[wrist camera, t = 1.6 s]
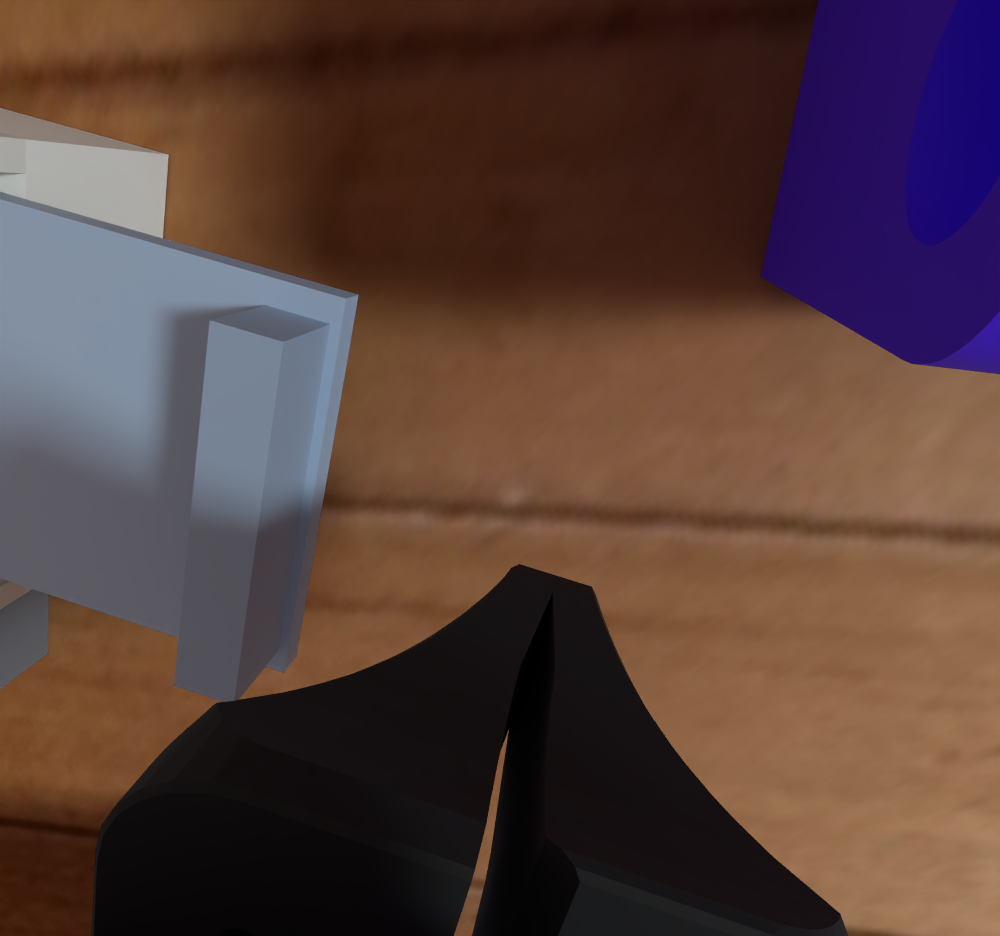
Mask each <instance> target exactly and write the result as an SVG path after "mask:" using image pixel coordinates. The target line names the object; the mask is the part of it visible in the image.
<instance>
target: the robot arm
mask: <svg viewBox="0 0 1000 936" xmlns="http://www.w3.org/2000/svg"><path fill="white" fill-rule="evenodd" d="M508 730H509V733H508V740H507V746H506V753H505V760H504V766H503V773H502V780H501V787H500V794H499V800H498V807H497V814H496V821H495V828H494V835H493V841H492V848H491V854H490V860H489V865H488V870H487V875H486V881H485V885H484V889H483V893H482V897H481V901H480V905H479V909H478V913H477V917H476V922H475V926H474V930H473V934H472V936H848V934H847V931H846V928H845V926H844V923H843V920H842V917H841V915H840V913H839V912H838V911H836V910H835V909H834V908H833V907H832V906H830V905H829V904H828V903H827V902H826V901H825V900H823V899H822V898H821V897H820V896H819V895H817V894H816V893H815V892H814V891H813V890H812V889H810V888H809V887H808V886H807V885H806V884H804V883H803V882H802V881H801V880H800V879H799V878H797V877H796V876H795V875H794V874H793V873H791V872H790V871H789V870H788V869H787V868H786V867H784V866H783V865H782V864H781V863H780V862H778V861H777V860H776V859H775V858H774V857H773V856H772V855H771V854H770V853H768V852H767V851H766V850H765V849H764V848H763V847H762V846H761V845H760V844H759V843H758V842H757V841H756V840H755V839H754V838H753V837H752V836H751V835H750V834H749V833H748V832H747V831H746V830H745V829H744V828H743V827H742V826H741V825H740V824H739V823H738V822H737V821H736V820H735V819H734V818H733V817H732V816H731V815H730V814H729V813H728V812H727V811H726V810H725V809H724V808H723V807H722V805H721V804H720V803H719V802H718V801H717V800H716V799H715V798H714V797H713V796H712V795H711V793H710V792H709V791H708V790H707V789H706V788H705V786H704V785H703V784H702V783H701V782H700V780H699V779H698V778H697V777H696V776H695V775H694V773H693V772H692V771H691V770H690V769H689V767H688V766H687V765H686V764H685V762H684V761H683V760H682V759H681V757H680V756H679V755H678V753H677V752H676V751H675V750H674V748H673V747H672V745H671V744H670V743H669V741H668V740H667V738H666V737H665V735H664V734H663V732H662V731H661V730H660V728H659V727H658V725H657V724H656V722H655V721H654V720H653V718H652V717H651V715H650V713H649V712H648V710H647V709H646V707H645V705H644V704H643V702H642V700H641V698H640V696H639V695H638V693H637V691H636V689H635V687H634V686H633V684H632V682H631V680H630V678H629V676H628V674H627V672H626V670H625V668H624V665H623V663H622V661H621V659H620V657H619V655H618V652H617V650H616V648H615V646H614V643H613V641H612V639H611V636H610V634H609V631H608V629H607V626H606V623H605V621H604V618H603V615H602V613H601V610H600V607H599V604H598V601H597V597H596V594H595V592H594V591H593V589H592V587H591V586H588V585H585V584H581V583H578V582H575V581H572V580H569V579H565V578H562V577H559V576H556V575H553V574H549V573H546V572H543V571H540V570H537V569H533V568H530V567H527V566H524V565H521V564H519V565H517V566H514V567H512V568H511V569H510V570H509V572H508V573H507V574H506V576H505V577H504V578H503V579H502V580H501V581H500V582H499V583H498V584H497V585H496V586H495V587H494V588H493V589H492V590H491V591H490V592H489V593H488V594H487V595H486V596H484V597H483V598H482V599H481V600H480V601H478V602H477V603H476V604H475V605H473V606H472V607H471V608H470V609H469V610H467V611H466V612H465V613H464V614H462V615H461V616H460V617H458V618H457V619H455V620H454V621H452V622H451V623H449V624H448V625H447V626H445V627H444V628H442V629H441V630H439V631H438V632H436V633H435V634H433V635H432V636H430V637H428V638H427V639H425V640H423V641H422V642H420V643H418V644H416V645H415V646H413V647H411V648H409V649H407V650H405V651H403V652H401V653H400V654H398V655H396V656H394V657H392V658H389V659H387V660H385V661H382V662H380V663H378V664H376V665H373V666H371V667H368V668H366V669H363V670H361V671H358V672H356V673H353V674H350V675H347V676H344V677H341V678H338V679H334V680H331V681H328V682H324V683H321V684H317V685H313V686H309V687H305V688H301V689H297V690H292V691H288V692H283V693H278V694H272V695H266V696H259V697H253V698H247V699H241V700H235V701H228V702H220V703H216V704H214V705H213V706H212V707H211V708H210V709H209V710H208V711H206V712H205V713H204V714H203V715H202V716H201V717H200V718H199V719H198V720H196V721H195V722H194V723H193V724H192V725H191V726H190V727H188V728H187V729H186V730H185V731H184V732H183V733H182V734H181V735H179V736H178V737H177V738H176V739H175V740H174V741H173V742H172V743H171V744H170V745H169V746H168V747H167V748H166V749H165V750H164V751H163V752H162V753H161V754H160V755H159V756H158V757H157V758H156V759H155V760H154V762H153V763H152V764H151V765H150V766H149V767H148V768H147V770H146V771H145V772H144V773H143V774H142V775H141V776H140V778H139V779H138V780H137V781H136V782H135V783H134V785H133V786H132V787H131V788H130V789H129V790H128V792H127V793H126V794H125V795H124V796H123V797H122V799H121V800H120V801H119V802H118V803H117V804H116V806H115V807H114V809H113V810H112V811H111V813H110V814H109V816H108V817H107V818H106V820H105V821H104V823H103V824H102V826H101V830H100V834H99V839H98V843H97V847H96V853H95V874H94V894H93V915H92V936H454V933H455V930H456V927H457V924H458V921H459V918H460V915H461V912H462V909H463V906H464V903H465V899H466V896H467V893H468V890H469V887H470V884H471V881H472V878H473V874H474V871H475V867H476V863H477V859H478V855H479V851H480V847H481V843H482V839H483V835H484V831H485V827H486V823H487V817H488V811H489V805H490V800H491V795H492V790H493V785H494V780H495V774H496V769H497V764H498V760H499V755H500V751H501V748H502V746H503V743H504V740H505V738H506V735H507V732H508Z"/></svg>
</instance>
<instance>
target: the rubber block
mask: <svg viewBox="0 0 1000 936" xmlns="http://www.w3.org/2000/svg"><path fill="white" fill-rule="evenodd" d="M48 606H49V594H46V593H43V592H40V591H37V590H34V589H32V590H30V591H29V592H27V593H26V594H24V595H22V596H21V597H19V598H18V599H16V600H14V601H13V602H11V603H10V604H8V605H7V606H5V607H3V608H2V609H0V689H1V688H2V687H4V686H5V685H6V684H8V683H9V682H10V681H12V680H13V679H14V678H16V677H17V676H18V675H19V674H21V673H22V672H23V671H25V670H26V669H27V668H29V667H30V666H31V665H33V664H34V663H35V662H37V661H38V660H39V659H41V658H42V657H43V656H45V655H46V654H47V653H48Z"/></svg>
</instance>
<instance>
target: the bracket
mask: <svg viewBox="0 0 1000 936" xmlns="http://www.w3.org/2000/svg"><path fill="white" fill-rule="evenodd" d="M761 277H762V278H764V279H765V280H767V281H769V282H770V283H772V284H774V285H776V286H777V287H779V288H781V289H782V290H784V291H786V292H788V293H789V294H791V295H793V296H794V297H796V298H798V299H800V300H801V301H803V302H805V303H806V304H808V305H810V306H812V307H813V308H815V309H817V310H818V311H820V312H822V313H824V314H825V315H827V316H829V317H830V318H832V319H834V320H836V321H837V322H839V323H841V324H842V325H844V326H846V327H847V328H849V329H851V330H853V331H854V332H856V333H858V334H859V335H861V336H863V337H865V338H866V339H868V340H870V341H871V342H873V343H875V344H877V345H878V346H880V347H882V348H883V349H885V350H887V351H889V352H890V353H892V354H894V355H895V356H897V357H899V358H901V359H902V360H904V361H907V362H909V363H911V364H919V365H927V366H936V367H944V368H953V369H961V370H969V371H978V372H986V373H995V374H1000V0H818V4H817V9H816V14H815V19H814V24H813V28H812V33H811V38H810V43H809V47H808V52H807V57H806V62H805V67H804V71H803V76H802V81H801V86H800V91H799V95H798V100H797V105H796V110H795V115H794V119H793V124H792V129H791V134H790V139H789V143H788V148H787V153H786V158H785V162H784V167H783V172H782V177H781V182H780V186H779V191H778V196H777V201H776V206H775V210H774V215H773V220H772V225H771V230H770V234H769V239H768V244H767V249H766V254H765V258H764V263H763V268H762V273H761Z"/></svg>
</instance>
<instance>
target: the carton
mask: <svg viewBox="0 0 1000 936" xmlns="http://www.w3.org/2000/svg"><path fill="white" fill-rule="evenodd" d="M168 156H169V155H168V154H165V153H161V152H157V151H154V150H150V149H146V148H143V147H139V146H136V145H132V144H128V143H125V142H121V141H118V140H114V139H110V138H107V137H103V136H100V135H96V134H92V133H89V132H85V131H81V130H78V129H74V128H71V127H67V126H63V125H60V124H56V123H53V122H49V121H45V120H42V119H38V118H35V117H31V116H27V115H24V114H20V113H16V112H13V111H9V110H6V109H2V108H0V192H3V193H6V194H10V195H13V196H17V197H20V198H24V199H27V200H30V201H34V202H37V203H41V204H44V205H48V206H51V207H55V208H58V209H62V210H65V211H69V212H72V213H76V214H79V215H83V216H86V217H90V218H93V219H97V220H100V221H104V222H107V223H111V224H114V225H118V226H121V227H125V228H128V229H132V230H135V231H139V232H142V233H146V234H149V235H152V236H156V237H159V238H163V228H164V213H165V199H166V185H167V170H168ZM30 590H32V589H31V588H28V587H25V586H22V585H19V584H16V583H13V582H10V581H7V580H4V579H1V578H0V609H2V608H3V607H5V606H7V605H8V604H10V603H11V602H13V601H14V600H16V599H18V598H19V597H21V596H22V595H24V594H26V593H27V592H29V591H30Z"/></svg>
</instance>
